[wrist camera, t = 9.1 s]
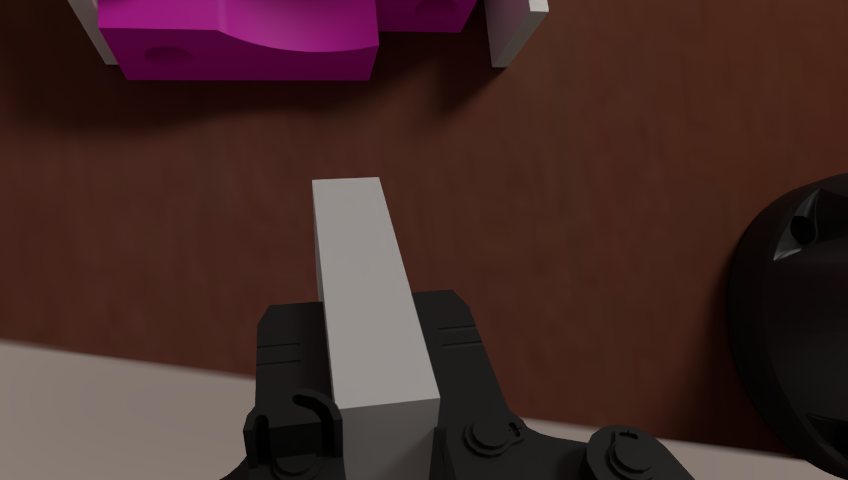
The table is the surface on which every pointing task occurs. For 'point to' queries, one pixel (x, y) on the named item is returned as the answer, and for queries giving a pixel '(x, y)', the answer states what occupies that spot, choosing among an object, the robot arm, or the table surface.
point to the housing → (504, 7)
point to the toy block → (263, 36)
